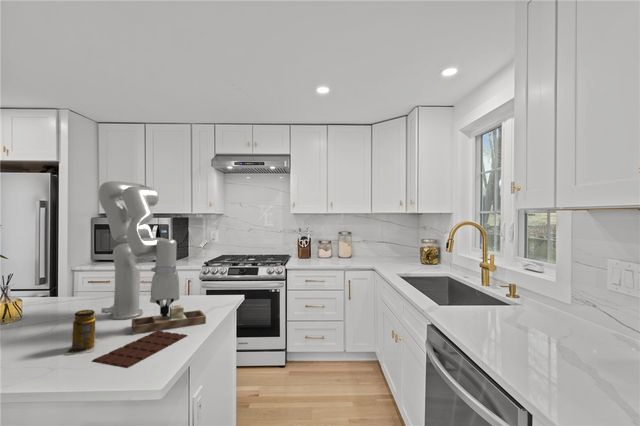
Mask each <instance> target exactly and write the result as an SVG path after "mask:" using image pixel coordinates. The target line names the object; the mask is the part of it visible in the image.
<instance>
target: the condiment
mask: <svg viewBox="0 0 640 426" xmlns="http://www.w3.org/2000/svg"><path fill="white" fill-rule="evenodd" d="M95 335H96V318H95V310H94V309H83V310H78V311H76V312H75V314H74V320H73V322H72V338H71V339H72V341H71V346H70V347H69V348H68V349H67V352H66V353H65V355H79V354H86V353H92V352H93V353H94V351H95V349H96V347H97V344H98V341H96V340H95V338H96V337H95Z"/></svg>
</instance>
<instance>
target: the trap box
mask: <svg viewBox="0 0 640 426" xmlns="http://www.w3.org/2000/svg"><path fill="white" fill-rule="evenodd" d="M206 320H207V316H206V315H205V313H203V311H202V310H200V309H199V310H198V309H197V310H191V311H190V310H189V311H184V312H183V318H177V319H171V318H170V313H169V314H167V317H166V316H165V317H162V315H160V314H159V315H151V316H144V317H134V318H131V330H132V334H133V335H140V334H146V333H153V332H156V331H166V330H171V329H178V328H184V327H192V326H198V325H204V324H207V321H206Z"/></svg>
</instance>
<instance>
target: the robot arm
mask: <svg viewBox="0 0 640 426" xmlns="http://www.w3.org/2000/svg"><path fill="white" fill-rule="evenodd" d="M98 200H99V204H100V205H101V208H102V210H103V211H104V212H105V216H106V218H107V222H108V226H109V229H110V233H111V237H112V239H113V240H114V241H115V242H119V243H120V242H121V243H120V244H118V245H116V246H115V247H114V249H113V250H112V258H113V263H114V295H113V298H114V300H113V304H112V306H110V307H102V308H101V311H100V313H101V314H109V316H108V317H109V319H113V320H128V319H135V318H139V317H140V316H142V315H143V313H144V311H143V309H141V308H140V293H141V292H140V285H141V273H140V270H139V269H138V267H137V266H136V265H138V264H144V263H146V264H147V263H151V262H153V261H155V265H154V267H151V269H150V271H151V272H154V273H153V275H152V278H151V285H150V299H149V303H150V304H151V303H153V304H157V305H158V306H159V308H160V309H159V313H160V314H159V315H162V317H165V316H166V317H167V314H170V306H171V305H172V304H173V303H174V302H175V301H179V300H180V278H179V273H178V272H177V245H178V244H177V240H176V239H172V238H164V237H154V235H153V233H152V228H151V226H150V225H149V224H148V223H150V222H151V221H152V220H153V218H154V213H153V211H152V208H151V207H155V206H156V205H157V204H158V202H159V200H160V199H159V193H158V192H157V191H156V189H155V188H153V187H150V186H147V185H144V184H140V183H134V182H126V181H115V180H113V181H105V182H103V183H102V184H101V185H100V186H99V189H98ZM120 201H122V202H124V204H125V205H123V204H122V203H121V202H120ZM164 300H165V301H166V302H165V304H164Z"/></svg>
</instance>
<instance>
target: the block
mask: <svg viewBox="0 0 640 426" xmlns="http://www.w3.org/2000/svg"><path fill="white" fill-rule="evenodd" d="M184 309H185V308H184V306H183V305H182V304H177V305H170V306H169V314H170V318H171V319H177V318H183V312H185V310H184Z"/></svg>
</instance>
